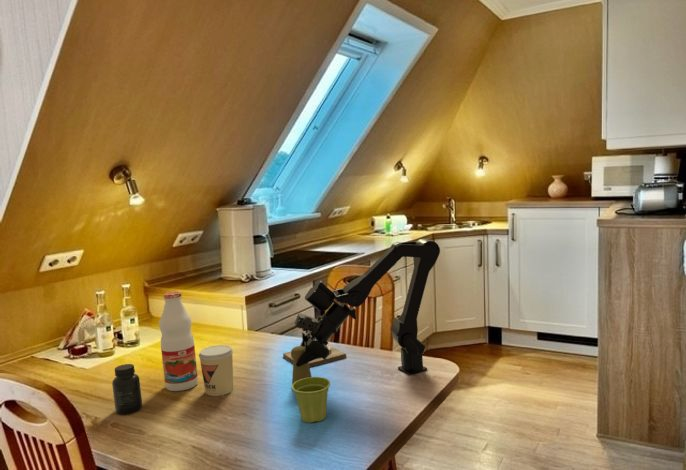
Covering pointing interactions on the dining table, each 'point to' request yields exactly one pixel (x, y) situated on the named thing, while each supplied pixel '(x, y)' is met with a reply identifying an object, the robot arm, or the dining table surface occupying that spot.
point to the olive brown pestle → (302, 370)
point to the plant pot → (312, 397)
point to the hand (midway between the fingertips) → (295, 362)
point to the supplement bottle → (126, 390)
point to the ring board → (333, 355)
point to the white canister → (217, 369)
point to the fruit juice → (177, 345)
